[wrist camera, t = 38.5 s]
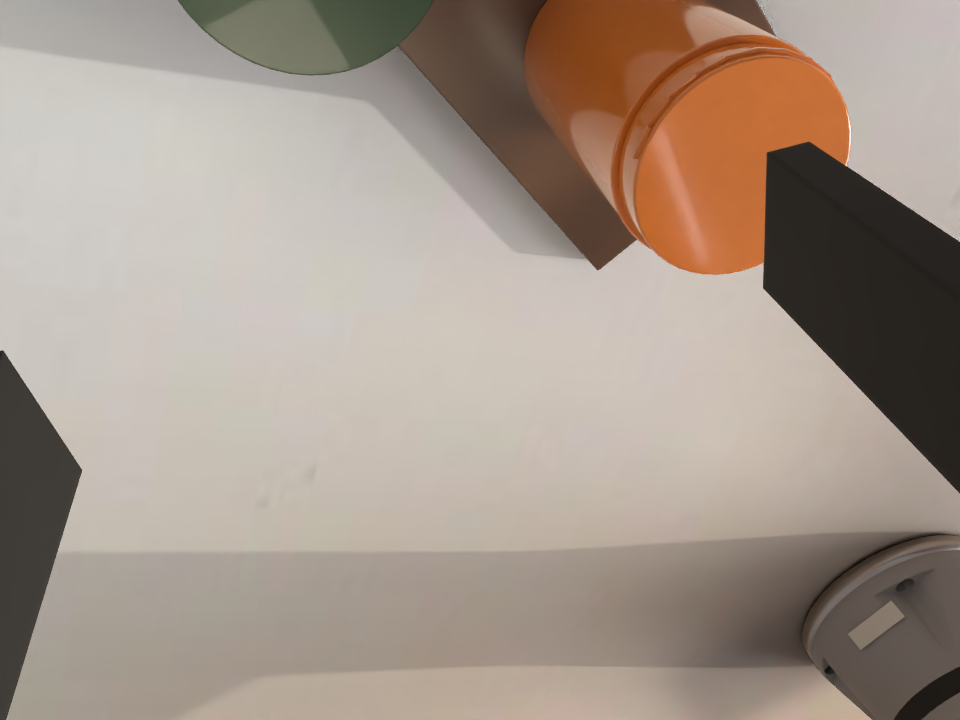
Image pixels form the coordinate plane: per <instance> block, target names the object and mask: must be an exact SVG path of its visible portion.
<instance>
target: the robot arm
mask: <svg viewBox="0 0 960 720" xmlns="http://www.w3.org/2000/svg"><path fill="white" fill-rule="evenodd" d="M763 288H764V289H765V290H766V292H767V293H768V294H769V295H770V296H771V297H772V298H773V299H774V300H775V301H776V302H777V303H778V304H779V305H780V306H781V307H782V308H783V309H784V310H785V311H786V312H787V313H788V314H789V316H790V317H791V318H792V319H793V320H794V321H795V322H796V323H797V324H798V325H799V326H800V327H801V328H802V329H803V330H804V331H805V332H806V333H807V334H808V335H809V336H810V337H811V338H812V340H813V341H814V342H815V343H816V344H817V345H818V346H819V347H820V348H821V349H822V350H823V351H824V352H825V353H826V354H827V355H828V356H829V357H830V358H831V359H832V360H833V361H834V362H835V364H836V365H837V366H838V367H839V368H840V369H841V370H842V371H843V372H844V373H845V374H846V375H847V376H848V377H849V378H850V379H851V380H852V381H853V382H854V383H855V384H856V385H857V386H858V388H859V389H860V390H861V391H862V392H863V393H864V394H865V395H866V396H867V397H868V398H869V399H870V400H871V401H872V402H873V403H874V404H875V405H876V406H877V407H878V408H879V409H880V410H881V412H882V413H883V414H884V415H885V416H886V417H887V418H888V419H889V420H890V421H891V422H892V423H893V424H894V425H895V426H896V427H897V428H898V429H899V430H900V431H901V432H902V433H903V434H904V436H905V437H906V438H907V439H908V440H909V441H910V442H911V443H912V444H913V445H914V446H915V447H916V448H917V449H918V450H919V451H920V452H921V453H922V454H923V455H924V456H925V457H926V458H927V460H928V461H929V462H930V463H931V464H932V465H933V466H934V467H935V468H936V469H937V470H938V471H939V472H940V473H941V474H942V475H943V476H944V477H945V478H946V479H947V480H948V481H949V482H950V484H951V485H952V486H953V487H954V488H955V489H956V490H957V491H958V492H959V493H960V242H959V241H957V240H956V239H954V238H953V237H951V236H950V235H948V234H947V233H945V232H944V231H942V230H941V229H939V228H938V227H936V226H935V225H933V224H932V223H930V222H929V221H927V220H926V219H924V218H923V217H921V216H920V215H918V214H917V213H915V212H914V211H913V210H911V209H910V208H908V207H907V206H905V205H904V204H902V203H901V202H899V201H898V200H896V199H895V198H893V197H892V196H890V195H889V194H887V193H886V192H884V191H883V190H881V189H880V188H878V187H877V186H875V185H874V184H872V183H871V182H869V181H868V180H866V179H865V178H863V177H862V176H860V175H859V174H857V173H856V172H854V171H853V170H851V169H850V168H848V167H847V166H845V165H844V164H842V163H841V162H839V161H838V160H836V159H835V158H833V157H832V156H830V155H829V154H827V153H826V152H824V151H823V150H821V149H820V148H818V147H817V146H815V145H814V144H812V143H811V142H805V143H801V144H797V145H793V146H790V147H786V148H782V149H778V150H774V151H770V152H767V162H766V200H765V239H764V277H763ZM81 473H82V469H81V468H80V466H79V465H78V463H77V462H76V460H75V459H74V457H73V456H72V454H71V452H70V451H69V449H68V448H67V446H66V445H65V443H64V442H63V440H62V439H61V437H60V436H59V434H58V433H57V431H56V430H55V428H54V427H53V425H52V424H51V422H50V421H49V419H48V418H47V416H46V415H45V413H44V412H43V410H42V409H41V407H40V406H39V404H38V403H37V401H36V400H35V398H34V396H33V395H32V393H31V392H30V390H29V389H28V387H27V386H26V384H25V383H24V381H23V380H22V378H21V377H20V375H19V374H18V372H17V371H16V369H15V368H14V366H13V365H12V363H11V362H10V360H9V359H8V357H7V356H6V354H5V353H4V351H0V720H6V718H7V715H8V712H9V708H10V705H11V702H12V699H13V695H14V692H15V689H16V686H17V682H18V679H19V676H20V672H21V669H22V666H23V663H24V659H25V656H26V653H27V649H28V646H29V643H30V640H31V636H32V633H33V630H34V627H35V623H36V620H37V617H38V613H39V610H40V607H41V604H42V600H43V597H44V594H45V590H46V587H47V584H48V581H49V577H50V574H51V571H52V568H53V564H54V561H55V558H56V554H57V551H58V548H59V545H60V541H61V538H62V535H63V531H64V528H65V525H66V522H67V518H68V515H69V512H70V509H71V505H72V502H73V499H74V495H75V492H76V489H77V486H78V482H79V479H80V476H81ZM802 641H803V645H804V647H805V649H806V651H807V653H808V655H809V656H810V658H811V660H812V661H813V663H814V665H815V666H816V667H817V669H818V670H819V671H820V672H821V673H822V674H823V676H824V677H825V678H826V679H827V680H828V681H830V682H831V683H832V684H833V685H834V686H835V687H836V688H837V689H839V690H840V691H841V692H842V693H843V694H844V695H845V696H846V697H847V698H849V699H850V700H851V701H852V702H853V703H854V704H855V705H856V706H858V707H859V708H860V709H861V710H862V711H863V712H864V713H865V714H867V715H868V716H869V717H870V718H871V719H872V720H960V536H954V535H937V536H929V537H923V538H918V539H914V540H910V541H907V542H903V543H900V544H898V545H895V546H892V547H890V548H887V549H885V550H883V551H881V552H878V553H876V554H875V555H873V556H871V557H869V558H867V559H865V560H864V561H862V562H860V563H859V564H857V565H856V566H854V567H853V568H851V569H850V570H848V571H847V572H846V573H844V574H843V575H842V576H840V577H839V578H838V579H837V580H836V581H835V582H833V583H832V584H831V585H830V586H829V587H828V588H827V589H826V590H825V591H824V592H823V593H822V595H821V596H820V597H819V598H818V600H817V601H816V602H815V604H814V605H813V607H812V608H811V610H810V611H809V613H808V615H807V617H806V620H805V623H804V626H803V631H802Z"/></svg>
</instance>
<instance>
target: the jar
mask: <svg viewBox="0 0 960 720" xmlns="http://www.w3.org/2000/svg"><path fill="white" fill-rule="evenodd" d="M524 78H525V83H526V88H527V91H528V94H529V97H530V100H531V102H532V103H533V105H534V107H535V109H536V111H537V112H538V113H539V115H540V116H541V117H542V119H543V120H544V121H545V123H546V124H547V125H548V126H549V128H550V129H551V130H552V132H553V133H554V134H555V136H556V137H557V138H558V139H559V141H560V142H561V143H562V145H563V146H564V147H565V149H566V150H567V151H568V152H569V154H570V155H571V156H572V158H573V159H574V160H575V162H576V163H577V164H578V165H579V167H580V168H581V169H582V171H583V172H584V173H585V175H586V176H587V177H588V178H589V180H590V181H591V182H592V184H593V185H594V186H595V187H596V189H597V190H598V191H599V193H600V194H601V195H602V197H603V198H604V199H605V200H606V202H607V203H608V204H609V206H610V207H611V208H612V210H613V211H614V212H615V213H616V215H617V216H618V217H619V219H620V220H621V221H622V223H623V224H624V225H625V226H626V228H627V229H628V230H629V232H630V233H631V234H632V235H633V236H634V237H635V238H636V239H637V240H638V241H640V242H641V243H643V244H644V245H645V246H647V247H648V248H650V249H652V250H653V251H654V252H655V253H656V254H657V255H658V256H659V257H661V258H662V259H664V260H665V261H666V262H668V263H670V264H672V265H674V266H676V267H678V268H680V269H683V270H686V271H689V272H694V273H700V274H715V275H717V274H728V273H733V272H738V271H743V270H746V269H749V268H752V267H755V266H757V265H759V264H762V263H764V239H765V200H766V162H767V152H770V151H774V150H778V149H782V148H786V147H790V146H793V145H797V144H801V143H805V142H811V143H812V144H814V145H815V146H817V147H818V148H820V149H821V150H823V151H824V152H826V153H827V154H829V155H830V156H832V157H833V158H835V159H836V160H838V161H839V162H841V163H842V164H844V165H845V166H847V163H848V159H849V153H850V147H851V127H850V119H849V115H848V111H847V107H846V104H845V102H844V100H843V97H842V95H841V93H840V91H839V90H838V88H837V87H836V85H835V83H834V82H833V80H832V78H831V75H830V74H829V73H828V72H826V71H825V70H824V69H823V68H822V67H820V66H819V65H818V64H817V63H816V62H815V61H813V60H812V58H810V57H808V56H806V55H805V54H804V53H803V52H801V51H800V50H799V49H797V48H796V47H794V46H793V45H791V44H789V43H787V42H785V41H783V40H781V39H779V38H777V37H776V36H774V35H772V34H770V33H768V32H766V31H764V30H762V29H760V28H758V27H756V26H754V25H752V24H750V23H749V22H747V21H745V20H743V19H741V18H739V17H737V16H735V15H733V14H731V13H729V12H727V11H725V10H723V9H721V8H720V7H718V6H716V5H714V4H712V3H710V2H708V1H706V0H547V1H546V3H545V4H544V5H543V7H542V8H541V10H540V11H539V13H538V15H537V17H536V18H535V20H534V22H533V25H532V27H531V30H530V32H529V35H528V39H527V42H526V47H525V53H524Z"/></svg>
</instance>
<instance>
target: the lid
mask: <svg viewBox="0 0 960 720" xmlns="http://www.w3.org/2000/svg"><path fill="white" fill-rule="evenodd" d="M178 1H179V3H180V4H181V5H182V7H183V8H184V9H185V11H186V12H187V13H188V14H189V15H190V17H191V18H192V19H193V20H194V21H195V22H196V23H197V24H198V25H199V26H200V27H201V28H202V29H203V30H204V31H205V32H206V33H208V34H209V35H210V36H211V37H212V38H214V39H215V40H216V41H217V42H218V43H220V44H221V45H223V46H224V47H226V48H227V49H229V50H230V51H232V52H233V53H235V54H237V55H239V56H241V57H243V58H245V59H247V60H249V61H251V62H253V63H255V64H258V65H261V66H263V67H266V68H269V69H272V70H276V71H281V72H285V73H290V74H300V75H328V74H334V73H340V72H345V71H348V70H352V69H355V68H358V67H361V66H363V65H366V64H368V63H370V62H372V61H374V60H376V59H378V58H380V57H381V56H383V55H384V54H386V53H388V52H389V51H391V50H392V49H394V48H395V47H396V46H397V45H398V44H399V43H401V42H402V41H403V40H404V39H405V38H406V37H408V35H409V34H410V33H411V32H412V31H413V30H414V29H415V28H416V26H417V25H418V24H419V23H420V22H421V20H422V19H423V17H424V16H425V14H426V13H427V11H428V10H429V9H430V7H431V5H432V3H433V1H434V0H178Z"/></svg>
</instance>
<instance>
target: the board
mask: <svg viewBox="0 0 960 720" xmlns="http://www.w3.org/2000/svg"><path fill="white" fill-rule="evenodd" d="M546 1H547V0H434V1H433V3H432V5H431V7H430V9H429V10H428V11H427V13H426V14H425V16H424V17H423V19H422V20H421V22H420V23H419V24H418V25H417V26H416V28H415V29H414V30H413V31H412V32H411V33H410V34H409V35H408V37H406V38H405V39H404V40H403V41H402V42H401V43H399V44H398V46H399V47H400V48H401V50H402V51H403V52H404V53H405V54H406V55H407V56H408V58H409V59H410V60H411V61H412V62H413V63H414V64H415V65H416V67H417V68H418V69H419V70H420V71H421V72H422V73H423V74H424V76H425V77H426V78H427V79H428V80H429V81H430V82H431V83H432V85H433V86H434V87H435V88H436V89H437V90H438V91H439V92H440V94H441V95H442V96H443V97H444V98H445V99H446V100H447V101H448V103H449V104H450V105H451V106H452V107H453V108H454V109H455V110H456V112H457V113H458V114H459V115H460V116H461V117H462V118H463V120H464V121H465V122H466V123H467V124H468V125H469V126H470V127H471V129H472V130H473V131H474V132H475V133H476V134H477V135H478V136H479V138H480V139H481V140H482V141H483V142H484V143H485V144H486V145H487V147H488V148H489V149H490V150H491V151H492V152H493V153H494V154H495V156H496V157H497V158H498V159H499V160H500V161H501V162H502V163H503V165H504V166H505V167H506V168H507V169H508V170H509V171H510V172H511V174H512V175H513V176H514V177H515V178H516V179H517V180H518V182H519V183H520V184H521V185H522V186H523V187H524V188H525V189H526V191H527V192H528V193H529V194H530V195H531V196H532V197H533V198H534V200H535V201H536V202H537V203H538V204H539V205H540V206H541V207H542V209H543V210H544V211H545V212H546V213H547V214H548V215H549V216H550V218H551V219H552V220H553V221H554V222H555V223H556V224H557V225H558V227H559V228H560V229H561V230H562V231H563V232H564V233H565V234H566V236H567V237H568V238H569V239H570V240H571V241H572V242H573V244H574V245H575V246H576V247H577V248H578V249H579V250H580V251H581V253H582V254H583V255H584V256H585V257H586V258H587V259H588V260H589V262H590V263H591V264H592V265H593V266H594V267H595V268H596V269H597V270H599V269H601V268H602V267H603V266H604V265H606V264H607V263H608V262H609V261H611V260H612V259H613V258H614V257H616V256H617V255H618V254H619V253H621V252H622V251H623V250H624V249H626V248H627V247H628V246H629V245H631V244H632V243H633V242H634V241H636V240H637V239H636V238H635V237H634V236H633V235H632V234H631V233H630V232H629V230H628V229H627V228H626V226H625V225H624V224H623V223H622V221H621V220H620V219H619V217H618V216H617V215H616V213H615V212H614V211H613V210H612V208H611V207H610V206H609V204H608V203H607V202H606V200H605V199H604V198H603V197H602V195H601V194H600V193H599V191H598V190H597V189H596V187H595V186H594V185H593V184H592V182H591V181H590V180H589V178H588V177H587V176H586V175H585V173H584V172H583V171H582V169H581V168H580V167H579V165H578V164H577V163H576V162H575V160H574V159H573V158H572V156H571V155H570V154H569V152H568V151H567V150H566V149H565V147H564V146H563V145H562V143H561V142H560V141H559V139H558V138H557V137H556V136H555V134H554V133H553V132H552V130H551V129H550V128H549V126H548V125H547V124H546V123H545V121H544V120H543V119H542V117H541V116H540V115H539V113H538V112H537V111H536V109H535V107H534V105H533V103H532V102H531V100H530V97H529V94H528V91H527V88H526V83H525V78H524V53H525V47H526V42H527V39H528V35H529V32H530V30H531V27H532V25H533V22H534V20H535V18H536V17H537V15H538V13H539V11H540V10H541V8H542V7H543V5H544V4H545V3H546ZM706 1H708V2H710V3H712V4H714V5H716V6H718V7H720V8H721V9H723V10H725V11H727V12H729V13H731V14H733V15H735V16H737V17H739V18H741V19H743V20H745V21H747V22H749V23H750V24H752V25H754V26H756V27H758V28H760V29H762V30H764V31H766V32H768V33H770V34H772V35H774V36H776V35H775V33H774V32H773V30H772V28H771V26H770V24H769V23H768V21H767V19H766V17H765V15H764V14H763V12H762V10H761V8H760V6H759V5H758V3H757V1H756V0H706Z"/></svg>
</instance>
